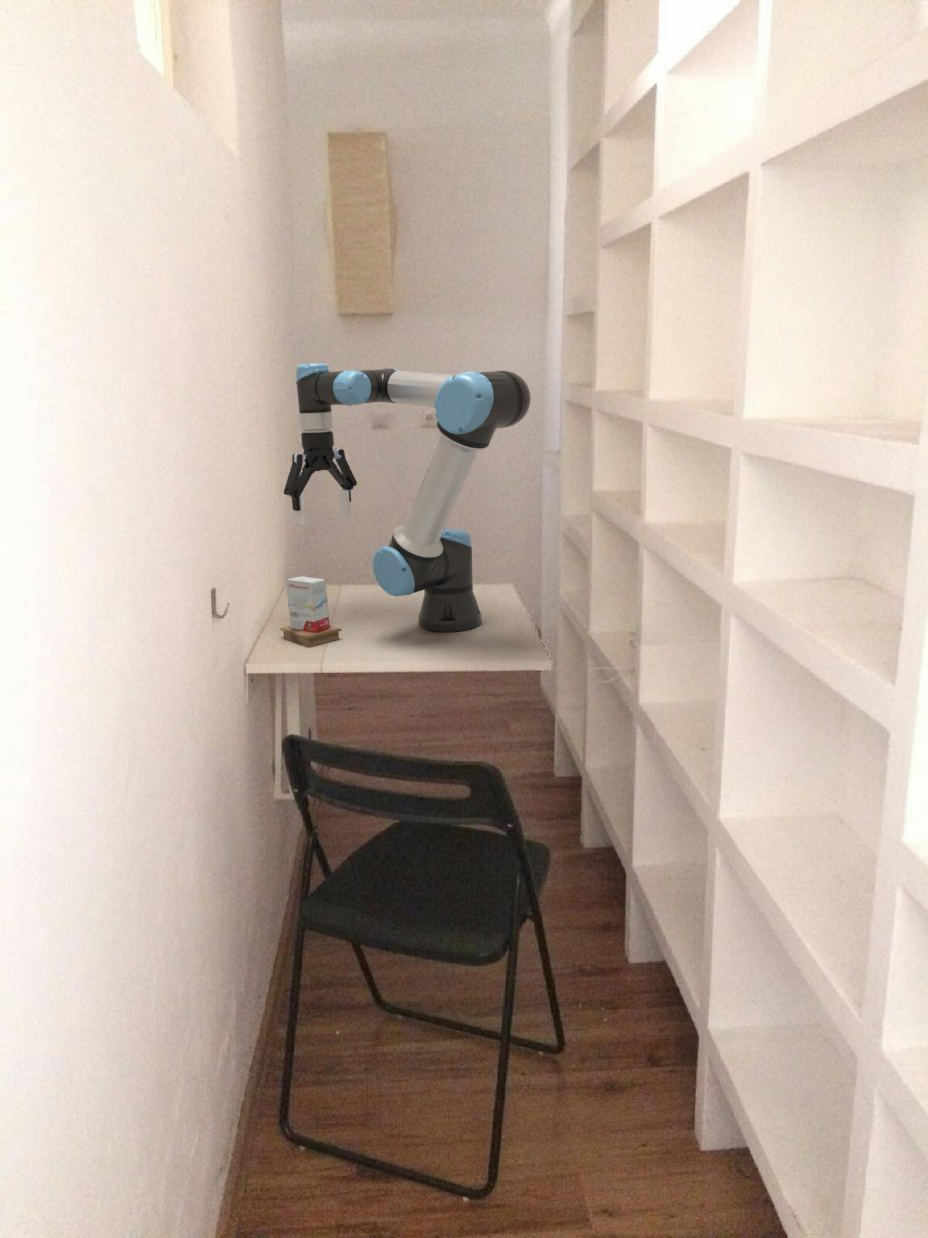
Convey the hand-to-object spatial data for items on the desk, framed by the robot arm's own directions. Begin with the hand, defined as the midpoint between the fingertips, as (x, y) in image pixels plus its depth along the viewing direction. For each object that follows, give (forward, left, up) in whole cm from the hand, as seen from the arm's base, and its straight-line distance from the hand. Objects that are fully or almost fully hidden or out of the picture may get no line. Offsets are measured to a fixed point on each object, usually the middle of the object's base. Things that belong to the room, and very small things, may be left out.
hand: (323, 520), depth 234 cm
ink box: (-10, +13, -23) cm, 28 cm away
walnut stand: (-10, +12, -25) cm, 30 cm away
